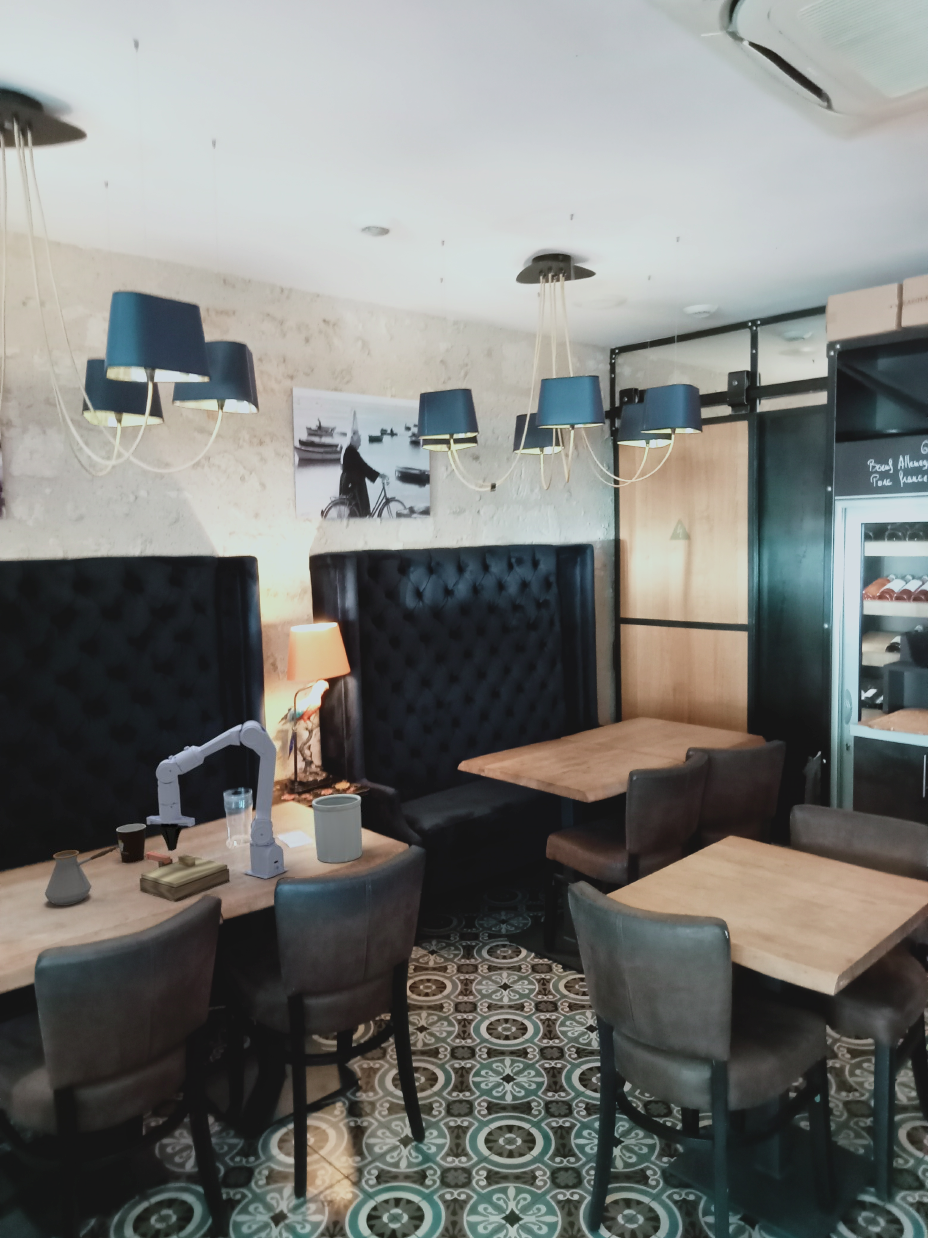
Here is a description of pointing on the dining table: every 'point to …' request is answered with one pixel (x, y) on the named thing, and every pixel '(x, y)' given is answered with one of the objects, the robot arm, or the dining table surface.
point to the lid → (184, 871)
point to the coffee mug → (131, 842)
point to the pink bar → (157, 857)
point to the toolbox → (184, 889)
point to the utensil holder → (338, 827)
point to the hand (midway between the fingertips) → (172, 849)
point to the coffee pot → (70, 878)
